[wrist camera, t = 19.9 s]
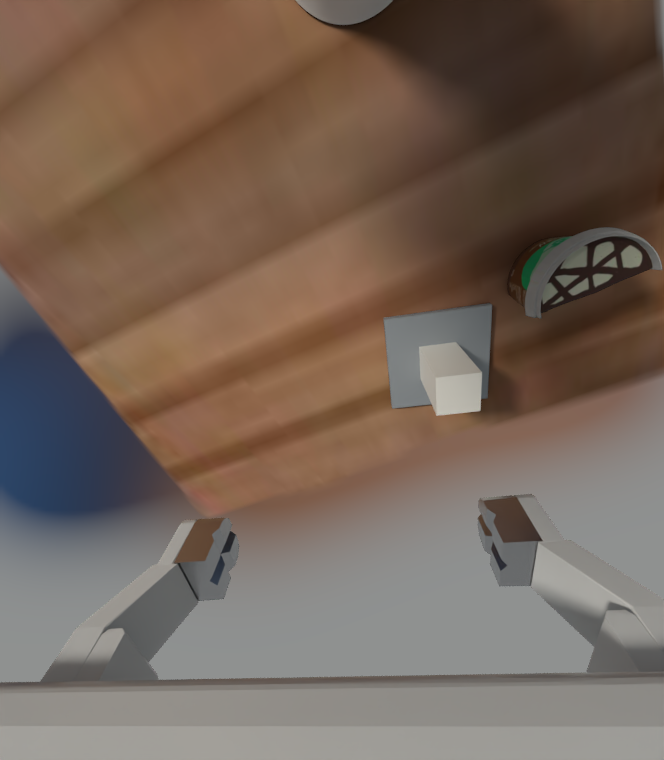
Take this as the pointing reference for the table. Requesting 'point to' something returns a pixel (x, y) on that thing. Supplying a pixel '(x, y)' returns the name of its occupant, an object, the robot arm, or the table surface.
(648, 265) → the food container
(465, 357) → the tall white pillar
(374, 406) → the table surface
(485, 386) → the post stand
